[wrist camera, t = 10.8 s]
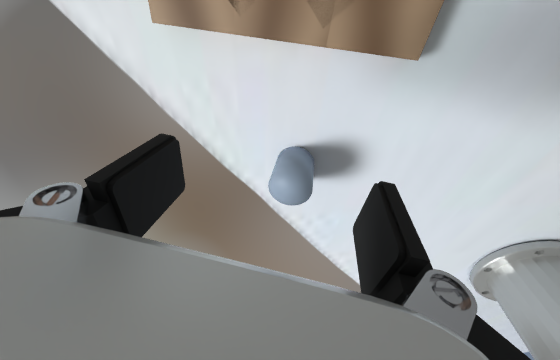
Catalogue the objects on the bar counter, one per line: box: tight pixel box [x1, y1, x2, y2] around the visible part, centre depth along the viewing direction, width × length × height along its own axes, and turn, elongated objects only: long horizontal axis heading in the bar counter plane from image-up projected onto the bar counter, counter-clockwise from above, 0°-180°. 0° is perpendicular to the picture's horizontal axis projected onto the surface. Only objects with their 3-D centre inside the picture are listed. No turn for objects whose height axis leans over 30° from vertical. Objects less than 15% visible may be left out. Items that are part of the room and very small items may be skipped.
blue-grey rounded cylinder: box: [268, 147, 314, 205], centre depth 23 cm, size 4×4×5 cm
